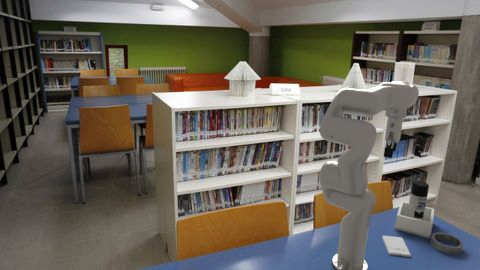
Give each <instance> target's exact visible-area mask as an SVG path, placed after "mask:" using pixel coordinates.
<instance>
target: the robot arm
mask: <svg viewBox="0 0 480 270" xmlns="http://www.w3.org/2000/svg"><path fill="white" fill-rule="evenodd" d="M418 98H419V88H418V87H417V86H416V85H415V84H410V82H407V81H401V80H396V81H395V80H394V81H391V82H388V81H384V82H381V83H380V84H379V85H378V86H374V87H371V88H367V89H358V88H350V87H344V88H340V90H339V91H338V92H337V93H336V94H335V95H334V97H333V99H332V100H331V103H330V104H329V106H328V108H327V110H326V111H325V114H324V116H323V118H322V120H321V122H320V125H319V135H320V137H321V139H323V140H324V141H327V142H330V143H335V144H340V145H343V146H348V147H351V148H349V149H347V150H345V151H344V152H343V153H342V154H340V156H339V157H338V158H337V161H335V160H328V161H326V162H324V163H323V165H322V166H321V168H320V171H319V177H318V178H319V179H318V181H319V185H320V188H321V191H322V195H323V197H324V201H326V203H327V204H328V205H330V206H333V207H337V208H339V209H342V210H344V211H347V212H348V213H347V214H345V215H344V216H343V217H342V219H341V221H340V229H339V237H338V245H337V253H336V254H335V255H334V256H333V257H332V260H331V261H332V262H331V263H332V266H333V267H334V268H335V270H368V263H367V262H366V260H365V255H366V248H367V243H368V234H369V229H370V222H371V217H372V214H373V212H374V208H375V205H376V200H377V199H376V195H375V193H374V192H373V191H372V190H370V189H369V188H368V184H369V180H368V173H367V167H366V163H367V160H368V158H369V157H370V155H371V153H372V151H373V148H374V146H375V143H376V139H377V135H378V134H377V127H375V125H374V124H372V123H371V122H368V121H365V120H363V119H357V118H352V117H345V116H343V115H344V114H346V115H352V116H356V117H364V118H370V117H373V116H376V115H377V114H379V113H381V112H383V111H385V112H384V116H385V117H387V121H386V128H385V136H384V141H385V146H384V148H383V149H384V150H383V157H384V158H388V159H393V154H394V152H396V150H397V144H398V143H399V142H400V140H401V136H402V128H403V120H404V119H406V117H407V113H408V112H407V111H408V109H409V108H411V107H412V106H413V107H414V105H415V104H416V102H417V101H418Z"/></svg>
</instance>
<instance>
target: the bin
mask: <svg viewBox="0 0 480 270" xmlns="http://www.w3.org/2000/svg"><path fill="white" fill-rule="evenodd" d="M408 207H409V202H406V201H403V200H401V201H400V204H399V208H398V210H397V215H396V218H395V219H396V220H395V223H394V224H395V225H394V230H396V231H400V232H404V233H407V234H411V235H416V236H418V237H422V238H426V239H430V240H431V236H432V230H433V224H434V215H435V214H434V213H435V208H432V207H429V206H426V207H425V212H424V218H423V220H419V219H415V218H411V217H407V213H408Z"/></svg>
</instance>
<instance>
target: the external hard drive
mask: <svg viewBox="0 0 480 270" xmlns="http://www.w3.org/2000/svg"><path fill="white" fill-rule="evenodd" d="M381 238H382V241H383V243H384V246H385V248H386V250H387V251H386V252H387V253H388V255H391V256H399V257H400V256H401V257H405V258H412V255H411V252H410V250H409V248H408V245H407V244H406V242H405V240H404V239H403V237H399V236H391V235H382V237H381Z"/></svg>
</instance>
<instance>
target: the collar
mask: <svg viewBox="0 0 480 270" xmlns="http://www.w3.org/2000/svg"><path fill="white" fill-rule="evenodd" d="M439 241H445V242H448V243H450V244H453V245H455V246H450V245H446V244H444V243H442V242H439ZM430 246H432V248H433V249H435V250H436V251H438V252H440V253H443V254H447V255H451V256H452V255H453V256H454V255H456V256H458V255H460V254H462V253H463V248H464V242H463V241H462V240H461V239H460V238H459V237H457V236H454V235H453V234H451V233H446V232H435V233H431V236H430Z"/></svg>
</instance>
